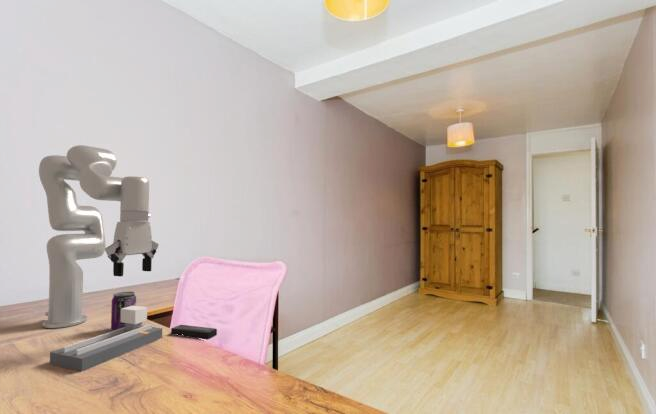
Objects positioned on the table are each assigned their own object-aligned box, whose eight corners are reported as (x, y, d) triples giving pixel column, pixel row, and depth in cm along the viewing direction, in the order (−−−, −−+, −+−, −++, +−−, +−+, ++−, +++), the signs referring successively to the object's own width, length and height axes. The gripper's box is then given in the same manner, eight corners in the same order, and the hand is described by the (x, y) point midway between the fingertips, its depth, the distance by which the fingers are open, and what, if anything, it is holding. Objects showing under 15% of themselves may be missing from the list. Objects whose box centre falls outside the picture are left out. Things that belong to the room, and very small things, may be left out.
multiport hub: (208, 340, 103) (208, 333, 103) (170, 335, 107) (170, 328, 107) (217, 335, 107) (217, 328, 107) (180, 331, 111) (180, 324, 111)
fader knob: (120, 331, 100) (120, 308, 101) (132, 327, 104) (132, 305, 104) (135, 334, 98) (135, 310, 98) (146, 330, 102) (147, 307, 102)
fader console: (49, 364, 85) (50, 347, 85) (133, 333, 108) (133, 320, 108) (81, 371, 81) (82, 353, 81) (162, 338, 104) (162, 324, 104)
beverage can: (124, 333, 108) (124, 296, 108) (105, 332, 109) (106, 295, 110) (140, 326, 115) (141, 291, 115) (123, 325, 116) (123, 290, 117)
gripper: (149, 217, 112) (148, 268, 111) (97, 217, 96) (96, 277, 95) (166, 217, 109) (165, 270, 109) (116, 217, 93) (115, 279, 92)
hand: (133, 273), depth 102 cm, fingers open, 9 cm apart
